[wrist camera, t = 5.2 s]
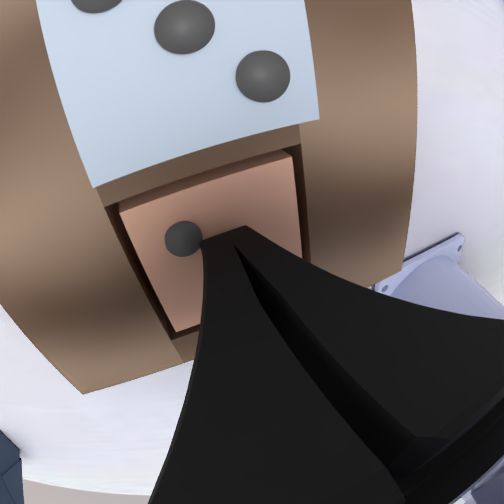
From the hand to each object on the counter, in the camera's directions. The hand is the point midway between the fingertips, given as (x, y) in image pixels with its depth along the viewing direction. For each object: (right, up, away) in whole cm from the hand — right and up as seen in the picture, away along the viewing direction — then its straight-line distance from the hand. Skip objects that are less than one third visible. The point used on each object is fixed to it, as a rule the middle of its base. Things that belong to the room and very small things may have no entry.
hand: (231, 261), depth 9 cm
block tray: (-2, +6, -1) cm, 7 cm away
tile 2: (-1, +1, +2) cm, 2 cm away
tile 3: (-1, +5, -3) cm, 6 cm away
